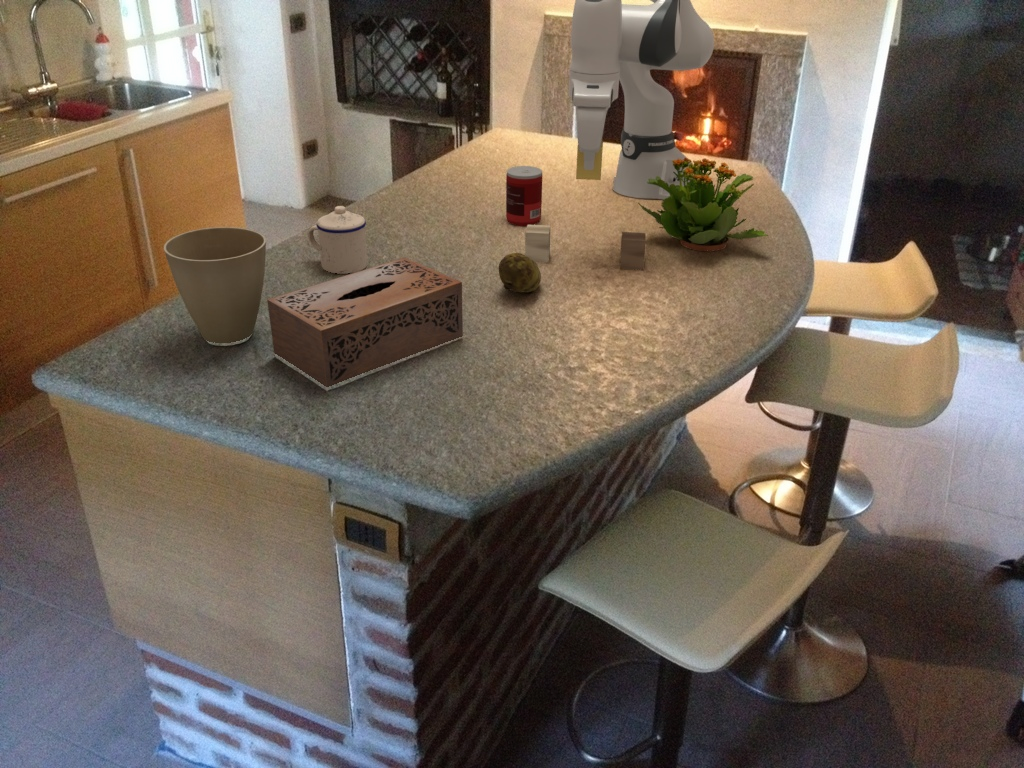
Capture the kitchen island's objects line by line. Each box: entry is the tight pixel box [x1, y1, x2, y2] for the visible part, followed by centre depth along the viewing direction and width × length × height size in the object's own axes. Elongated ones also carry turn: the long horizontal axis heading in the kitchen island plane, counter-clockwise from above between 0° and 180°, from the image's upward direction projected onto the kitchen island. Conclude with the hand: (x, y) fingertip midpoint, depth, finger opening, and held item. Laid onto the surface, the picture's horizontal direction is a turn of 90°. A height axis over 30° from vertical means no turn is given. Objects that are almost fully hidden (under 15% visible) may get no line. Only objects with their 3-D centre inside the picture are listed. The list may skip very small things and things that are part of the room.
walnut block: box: [619, 231, 647, 272], centre depth 171 cm, size 4×4×6 cm
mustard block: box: [575, 140, 604, 181], centre depth 165 cm, size 4×4×6 cm
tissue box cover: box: [266, 256, 464, 387], centre depth 139 cm, size 26×14×10 cm, turn 134°
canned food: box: [505, 165, 543, 227], centre depth 193 cm, size 8×8×11 cm
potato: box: [498, 252, 542, 294], centre depth 159 cm, size 8×13×8 cm, turn 151°
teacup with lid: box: [307, 205, 368, 275], centre depth 168 cm, size 12×9×12 cm
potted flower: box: [637, 156, 769, 253], centre depth 179 cm, size 25×24×18 cm
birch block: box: [524, 224, 552, 264], centre depth 174 cm, size 4×4×6 cm
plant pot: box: [163, 226, 267, 343], centre depth 140 cm, size 15×15×16 cm
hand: (589, 164), depth 165 cm, fingers closed on mustard block, 4 cm apart
